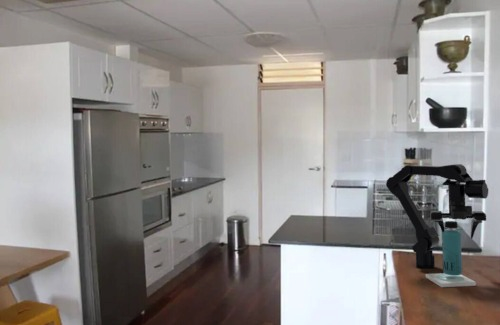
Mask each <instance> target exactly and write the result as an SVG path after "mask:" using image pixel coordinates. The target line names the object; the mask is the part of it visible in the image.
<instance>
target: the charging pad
mask: <svg viewBox="0 0 500 325" xmlns="http://www.w3.org/2000/svg"><path fill="white" fill-rule="evenodd" d="M425 279H427V280H429V281H431V282H433V283H434V284H435V285H438V286H439V287H441V288H451V287H452V288H454V287H472V286H474V287H475V286H477V282H476V281H474V280H473V279H471V278H469V277H467V276H465V275H463V274H461V275H448V274H445V273H444V272H439V273H425Z"/></svg>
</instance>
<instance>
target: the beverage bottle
mask: <svg viewBox="0 0 500 325" xmlns="http://www.w3.org/2000/svg"><path fill="white" fill-rule="evenodd" d="M458 227H459V226H458V222H457V221H453V220H447V221H445V222H444V228H446V230H445V229H444V230H445V231H444V232H443V233H441V236H442V237H441V246H442V247H441V250H442V255H441V256H442V273H445V274H448V275H463V259H462V258H463V256H462V234H461V233H460V232H459V231H458V230H454V229H457V228H458Z"/></svg>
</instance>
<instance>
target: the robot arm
mask: <svg viewBox="0 0 500 325" xmlns="http://www.w3.org/2000/svg"><path fill="white" fill-rule="evenodd" d="M413 175H416V176H432V177H433V176H434V177H440V178H444V179H445V181H444V182H442V184H441V185H442V186H447V188H448V212H442V210H431V211H430V212H429V213H430V214H429V215H430V220H432V221H434V222H435V223H438V225H439V227H440V230H441V232H442V233H443V232H444V231H445V223H444V220H443V219H448V218H449V219H452V220H466V219H471V223H470V239H471V240H472V239H473V238H474V234H475V232H476V229H477V227H478V225H479V224H481V223H483V222H484V221H485V222H486V221H487V214H486V213H485V212H484V211H482V210H481V211H479V210H478V211H476V210H475V211H473V206H472V205H466V197H468V198H470V199H485V200H486V199H487V198H488V196H489V188H488V184H487V182H486V179H477V180H476V179H473V177H471V176H470V174H469V173H468V171H467V167H466V166H465V165H463V164H461V163H458V164H457V163H455V164H448V165H447V164H446V165H442V166H438V165H415V164H406V165H404V166H403V167H402V169H401V170H399V171H398V172H395V173H394V175H393V176H390V177H389V178H387V180H386V183H385V185H386V188H387V189H388V191H389V192H390V193H391V194H392V195H393V196H394V197H396V198H397V199H398V201H399V203H400V205H401V206H402V209H403V210H404V211H405V214H406V216H407V218H409V221H410V222H411V224H412V226H413V228H414V232H415V238H416V241H417V242H415V244H414V245H412V246H411V248H412V251H413V252H414V253H415V268H420V269H421V268H422V269H423V268H424V269H434V267H435V254H434V253H433V251H434V250H436V249H435V248H436V247H437V246H438V245H439V243H440V238H439V236H440V234H439V233H438V232H437V230H436V228H435V227H434V226H431V227H430V226H429V225H428V224H426V221H425V220H424V218H423V216H422V215H421V212H420V211H419V209H418V207H417V206H416V204H415V202H414V201H413V199H412V197H411V195H410V192H409V185H408V183H409V181H410V180H411V179H412V177H413ZM442 233H441V234H442Z"/></svg>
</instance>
